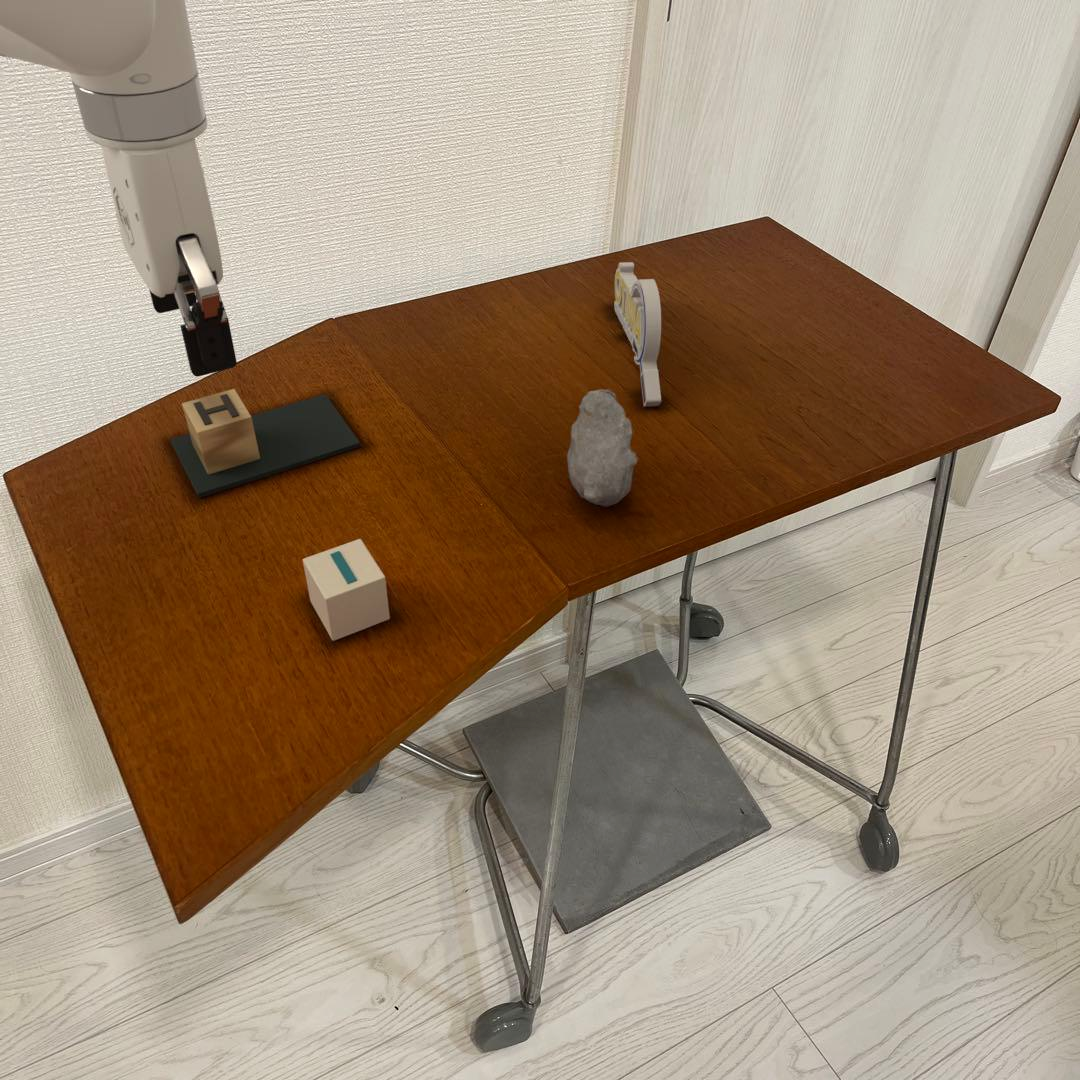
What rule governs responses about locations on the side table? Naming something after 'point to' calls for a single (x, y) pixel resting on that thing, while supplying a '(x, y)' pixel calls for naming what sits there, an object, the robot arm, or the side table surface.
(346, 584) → the letter i
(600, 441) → the stone
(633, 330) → the decorative sign
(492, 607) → the side table surface
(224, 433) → the letter h
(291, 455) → the word mat
